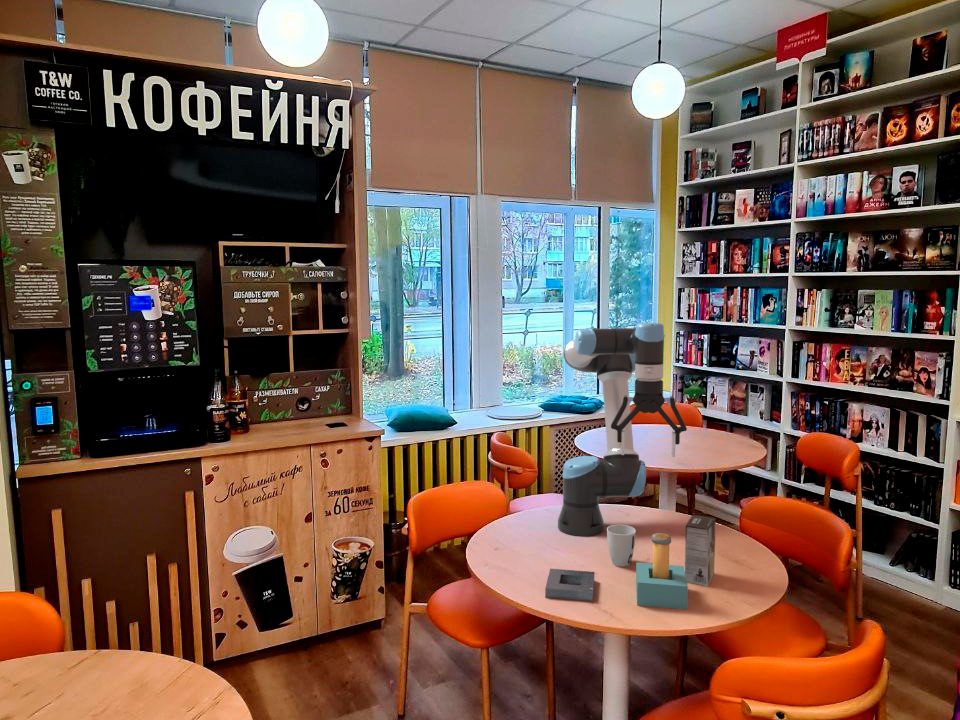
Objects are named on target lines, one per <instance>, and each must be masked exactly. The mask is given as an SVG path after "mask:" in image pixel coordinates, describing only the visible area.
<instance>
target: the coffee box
mask: <svg viewBox="0 0 960 720" xmlns="http://www.w3.org/2000/svg"><path fill="white" fill-rule="evenodd" d="M684 537H685V538H684V539H685V541H684V542H685V544H684V545H685V546H684V552H685V553H684V554H685V555H684V572H685V576H686V581H687V584H688V583H689V584H693V585H694V584H695V585H698V586H705V587H709V585H710V583H711V581H712V579H713V577H714V575H715V555H716V554H715V551H716V549H715V548H716V517H709V516H702V515H694V514H693V515H691V517H690V518H689V519H688V521H687V523H686V524H685V535H684Z"/></svg>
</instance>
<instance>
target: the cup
mask: <svg viewBox="0 0 960 720" xmlns="http://www.w3.org/2000/svg"><path fill="white" fill-rule="evenodd" d="M636 532H637V531H636V528H634V527H633V526H631V525H627V524H613V525H609V526H608V527H606V541H607V546H608V547H607V548H608V553H609V557H610V560H611V561H610V562H612V565H614V566H616V567H621V568H623V567H629V566H630V565H631V562H632V559H633V555H634V550H635V545H636V535H637V534H636Z"/></svg>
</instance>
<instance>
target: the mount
mask: <svg viewBox="0 0 960 720" xmlns="http://www.w3.org/2000/svg"><path fill="white" fill-rule="evenodd" d="M545 584H546V585H545V598H548V599H558V600H559V599H562V600H569V601H570V600H571V601H585V602H594V600H593V599H594V591H595V590H594V589H595V571H586V570H576V569H575V570H574V569H572V570H571V569H562V568H561V569H559V568H550V569H549V572H548V575H547V579H546V583H545Z"/></svg>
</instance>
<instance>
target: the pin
mask: <svg viewBox="0 0 960 720" xmlns="http://www.w3.org/2000/svg"><path fill="white" fill-rule="evenodd" d="M651 542H652V544H653V545H652V564H653V578H654V579H667V580H669V565H670V544H671V543H672V536H671V535H670V534H668V533H664V532H656V533H652V534H651Z"/></svg>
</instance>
